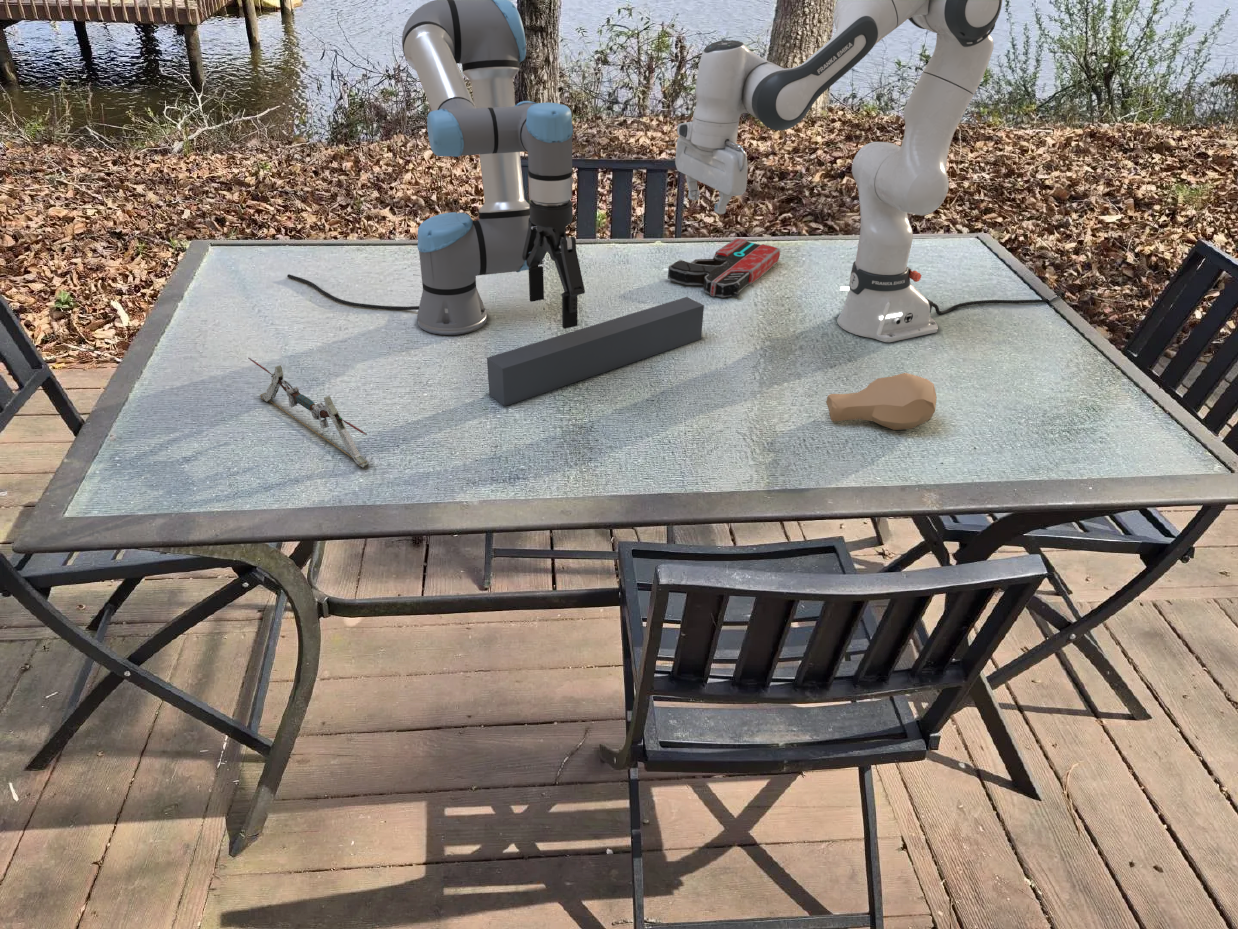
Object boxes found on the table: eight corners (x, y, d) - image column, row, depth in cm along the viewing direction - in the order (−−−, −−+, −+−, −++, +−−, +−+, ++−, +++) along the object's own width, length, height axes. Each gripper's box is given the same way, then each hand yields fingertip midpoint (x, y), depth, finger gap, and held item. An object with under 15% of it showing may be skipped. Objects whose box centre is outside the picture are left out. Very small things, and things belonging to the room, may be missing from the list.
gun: (663, 267, 215) (734, 286, 207) (718, 230, 237) (784, 246, 229) (662, 284, 218) (732, 303, 210) (716, 246, 240) (782, 262, 232)
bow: (378, 470, 147) (371, 419, 141) (369, 475, 146) (361, 423, 140) (261, 391, 168) (250, 343, 163) (252, 394, 167) (241, 347, 162)
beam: (504, 406, 166) (502, 368, 162) (489, 394, 170) (486, 357, 165) (701, 339, 193) (704, 305, 188) (684, 330, 196) (686, 296, 192)
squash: (941, 436, 161) (948, 398, 155) (831, 444, 163) (834, 407, 157) (927, 398, 169) (933, 361, 163) (822, 407, 171) (824, 370, 164)
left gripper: (605, 217, 145) (603, 334, 157) (538, 178, 163) (541, 286, 175) (565, 224, 142) (566, 343, 154) (501, 183, 160) (506, 293, 171)
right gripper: (760, 145, 162) (749, 219, 169) (699, 121, 177) (692, 190, 184) (732, 148, 159) (722, 223, 167) (672, 123, 174) (666, 193, 181)
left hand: (552, 313), depth 164 cm, fingers open, 13 cm apart
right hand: (706, 205), depth 176 cm, fingers open, 8 cm apart
